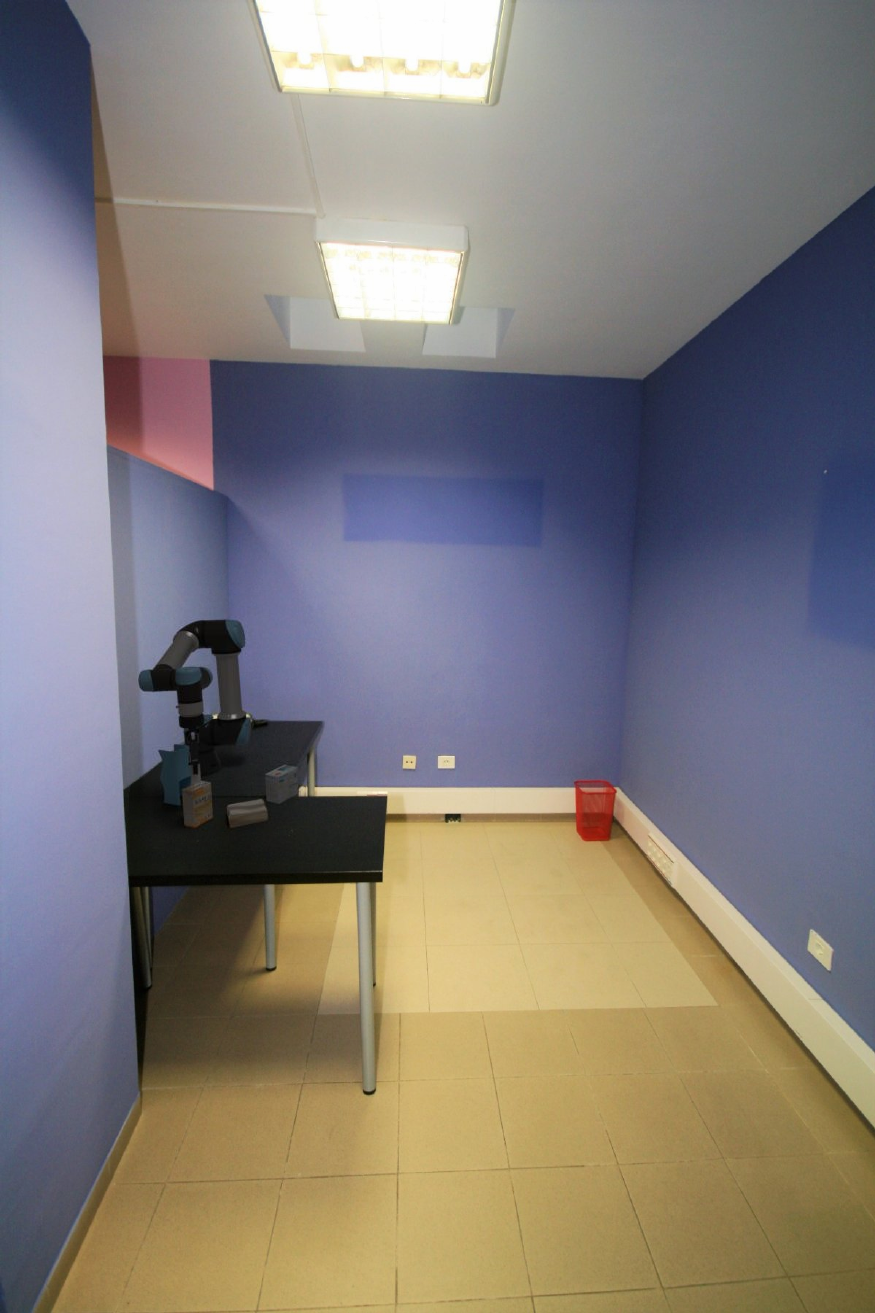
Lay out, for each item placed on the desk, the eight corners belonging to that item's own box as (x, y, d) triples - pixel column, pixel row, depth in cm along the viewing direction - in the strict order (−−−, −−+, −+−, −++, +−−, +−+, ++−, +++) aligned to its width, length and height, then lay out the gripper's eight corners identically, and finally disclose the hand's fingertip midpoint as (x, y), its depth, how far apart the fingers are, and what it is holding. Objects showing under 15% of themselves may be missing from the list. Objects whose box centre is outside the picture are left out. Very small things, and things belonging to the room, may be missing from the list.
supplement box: (195, 829, 172) (192, 791, 170) (184, 826, 173) (181, 789, 171) (214, 818, 179) (211, 782, 177) (203, 815, 181) (200, 780, 179)
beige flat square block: (227, 815, 181) (226, 804, 180) (263, 808, 186) (262, 798, 186) (230, 827, 172) (229, 816, 172) (267, 820, 178) (267, 809, 177)
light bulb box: (285, 790, 202) (284, 764, 201) (299, 793, 199) (298, 766, 198) (265, 801, 193) (264, 773, 191) (279, 804, 190) (278, 776, 188)
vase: (179, 794, 199) (175, 743, 196) (195, 796, 196) (191, 746, 193) (162, 802, 192) (157, 750, 188) (178, 805, 189) (174, 752, 186)
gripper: (178, 707, 180) (182, 766, 183) (178, 725, 158) (183, 791, 161) (201, 704, 183) (205, 762, 186) (205, 722, 161) (210, 787, 164)
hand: (195, 776), depth 173 cm, fingers open, 13 cm apart
